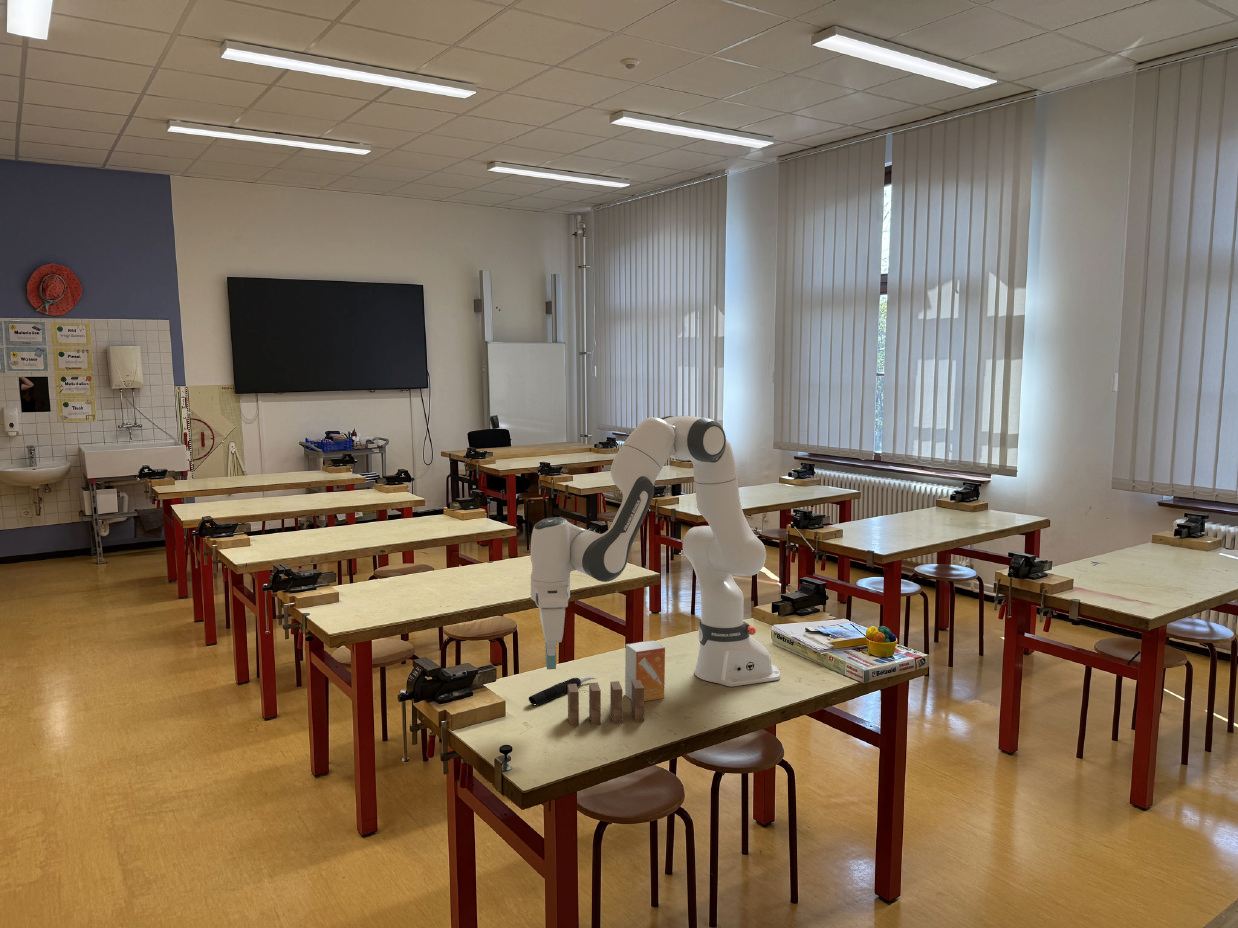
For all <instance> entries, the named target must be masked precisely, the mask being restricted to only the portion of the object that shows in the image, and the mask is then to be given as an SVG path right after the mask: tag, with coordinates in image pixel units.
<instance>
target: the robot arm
mask: <svg viewBox="0 0 1238 928" xmlns="http://www.w3.org/2000/svg"><path fill="white" fill-rule="evenodd" d="M634 428H635V429H633V430H632V431H631V433H630V434H629V435H628V437H627V438H626V439H625V441H624V442H623V444H622V446H621V447H620V448H619V450H618V452H616V454H615V457H614V458H613V461H612V463H611V466H610V476H611V478H612V481H613V483H614V485H615V486H616V487H617V488H618V489H619V490H620V492H621V493H622V500H621V504H620V507H619V508H618V510H617V512H616V514H615V517H614V518H613V520H612V523H611V524H610V527H609V528H608V530H606V531H605V532H603V533H600V532H599V533H598V532H596V531H593V530H589V529H585V528H583V527H579V526H577V525H574V524H573V523H571V522H569V521H568V520H567V519H566V518H564V517H560V516H558V517H557V516H556V517H547V518H543V519H541V520H539V521H537V522H536V523H535V524H534V526H533V529H532V531H531V532H532V533H531V539H530V561H531V566H532V569H531V573H530V599H531V600H532V601H533V602H535V605H536V606H537V607H538V609H539V619H540V620H539V621H540V623H541V627H542V632H543V637H544V644H545V645H546V643H547V653H548V655H549V656H554V655H555V654H556V655H557V643H562V641H563V636H564V628H565V619H566V618H565V617H566V608H568V606H569V599H570V598H571V572H574V571H577V572H579V573H582V574H585V575H587V576H589V577H591V578H593V579H595V580H596V581H599V582H602V583H603V582H604V583H606V582H607V583H608V582H612V581H613V580H616V579H617V578H618V577H619V576H621V574H622V573H623V572H624V570H625V569H626V566H627V563H628V562H629V557H630V552H631V549H632V547H633V543H634V541H635V538H636V537H637V535H638V533H639V530H640V529H641V525H642V524H643V521H644V519H645V518H646V515H647V513H648V510H649V508H650V507H651V503H652V501H653V498H654V495H655V487H654V486H655V482H656V480H657V478H658V476H659V475H660V473H661V471H662V469H663V468H664V466H665V464H666V462H667V461H668V459H669V458H671V459H675V460H678V461H685V462H686V461H691V463H692V465H693V467H692V468H693V483H694V489H695V500H696V507H697V508H696V509H697V511H698V513H699V514H700V515H701V516H702V517H703V518H704V519H705V521H706V523H708V525H700V526H693V527H692V528H689V529H688V530H687V531H686V533H685V534H684V536H683V540H682V552H683V554H684V556H685V558H687V560H688V562H690V565H691V566H692V568H693V570H694V573H695V576H696V580H697V582H698V585H699V591H700V610H701V611H700V615H701V616H700V621H699V624H698V625H699V627H698V641H699V650H698V657H697V662H696V664H695V665H696V666H695V669H694V671H693V673H694V675H695V676H696V677H697V678H699V679H701V680H703V681H707V682H710V683H715V684H716V683H717V684H719V685H723V686H726V687H738V686H743V685H744V686H745V685H753V684H760V683H764V682H765V683H766V682H773V681H779V680H781V672H780V669H779V668H778V667H777V666H776V665H775V664H773V663H772V658H771V655H770V652H769V651H768V649H767V648H766V647H765V646H764V645H763V644H761V643H760V641H758V640H756V639H755V638H754V637H753V635H756V633H757V629H756V628H755V627H754V626H753V625H751V624H750V623H748V622H746V621H744V600H745V599H744V594H743V591H742V590H741V588H740V586H738V584H737V583H736V582H735V580H734V578H733V576H739V577H740V576H743V577H745V576H746V577H747V576H749V577H750V576H755V575H756V574H758V573H760V572H761V570H762V569H763V568H764V565H765V563H766V559H767V550H766V546H765V545H764V543H763V542H762V540H761V539H759V538H758V537H757V535H756V534H755V533H754V532H753V530H752V528H751V526H750V524H749V523H748V520H747V518H746V516H745V514H744V511H743V508H742V503H741V497H740V490H739V482H738V480H739V479H738V474H737V472H738V471H737V466H736V461H735V457H734V453H733V449H732V447H731V443H730V441H729V440H727V436H726V432H725V429H724V427H723V426H722V425H721V424H720V423H719V422H718V421H716V420H714V419H712V418H710V417H709V418H708V417H699V416H696V415H695V416H694V415H682V416H679V415H678V416H677V415H676V416H674V415H669V416H668V415H667V416H664V417H663V416H662V417H660V418H659V417H656V416H653V417H651V416H650V417H646V418H645V419H643V420H642V421H641V422H640V423H639V424H638V425H637V426H636V427H634Z"/></svg>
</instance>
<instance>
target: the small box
mask: <svg viewBox="0 0 1238 928" xmlns="http://www.w3.org/2000/svg"><path fill="white" fill-rule="evenodd" d="M624 652H625V655H624V657H625V660H624V661H625V663H624V664H625V668H624V669H625V670H624V671H625V674H624V679H625V680H624V682H625V683H624V684H625V685H624V694H625V695H626V697H628V698H629V699H630V700H631V701H632V680H640V681H641V683H642V685H643V687H644V702H648V701H654V700H661V699H662V700H663V699H664V698H665V686H666V685H665V683H666V682H665V680H666V676H665V672H666V671H665V670H666V647H665V646H663V645H662V644H660V643H659V642H657V641H656V640H654V639H653V640H647V641H639V642H633V643H626V644H625V651H624Z"/></svg>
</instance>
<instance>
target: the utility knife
mask: <svg viewBox="0 0 1238 928" xmlns="http://www.w3.org/2000/svg"><path fill="white" fill-rule="evenodd" d="M591 680H597V678H596V677H592V676H583V677H571V678H570V679H567V680H564V681H562V682H559V683H557V684H553V686H549V687H548V688H546V689H543V690H541V691H539V692H536V693H535V694H532V695H531V696H529V697H528V701H529V703H530V704H531V705H532V706H534V705H533V704H536V705H537V706H539V705H541V704H544V703H546V701H547V702H549V701H551V700H553V698H554V699H555V697H556V698H558V697H560V696H562V695H566V694H568V684H577V688H579V687H580V686H581V685H582V684H583V683H584V682H588V681H591ZM536 705H535V707H536Z"/></svg>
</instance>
